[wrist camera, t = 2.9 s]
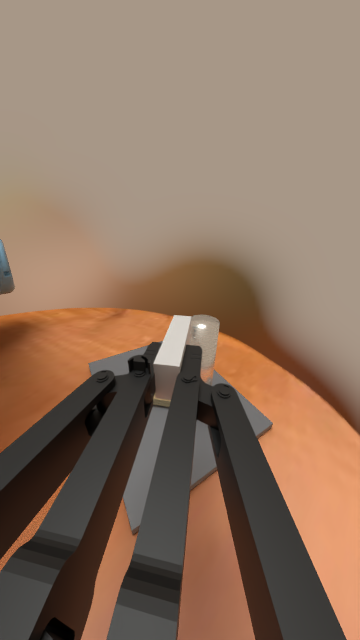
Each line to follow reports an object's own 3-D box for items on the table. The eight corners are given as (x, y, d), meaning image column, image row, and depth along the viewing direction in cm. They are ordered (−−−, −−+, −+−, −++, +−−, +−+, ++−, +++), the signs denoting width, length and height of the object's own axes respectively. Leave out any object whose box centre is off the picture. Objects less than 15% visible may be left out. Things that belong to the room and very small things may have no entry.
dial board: (89, 367, 37) (88, 362, 36) (177, 339, 46) (177, 335, 46) (132, 535, 17) (131, 529, 17) (271, 427, 27) (273, 422, 26)
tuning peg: (95, 406, 27) (72, 320, 21) (111, 381, 32) (96, 303, 25) (225, 426, 25) (242, 336, 19) (223, 396, 29) (237, 315, 23)
